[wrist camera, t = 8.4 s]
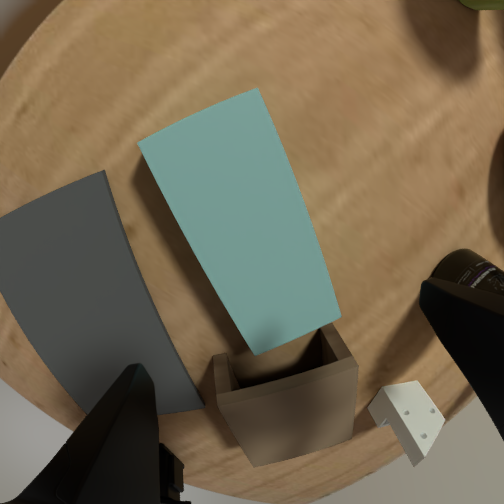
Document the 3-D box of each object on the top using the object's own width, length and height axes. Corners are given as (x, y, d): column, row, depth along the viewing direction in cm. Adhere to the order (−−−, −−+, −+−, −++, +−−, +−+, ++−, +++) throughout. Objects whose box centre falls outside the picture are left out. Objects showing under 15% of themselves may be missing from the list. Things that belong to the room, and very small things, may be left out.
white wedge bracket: (358, 408, 23) (424, 457, 17) (399, 368, 29) (452, 404, 24) (342, 430, 24) (403, 475, 18) (385, 388, 31) (435, 423, 25)
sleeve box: (245, 427, 25) (253, 467, 21) (212, 355, 20) (217, 406, 16) (334, 402, 26) (351, 438, 21) (332, 323, 21) (358, 365, 17)
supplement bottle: (453, 233, 20) (561, 304, 9) (481, 262, 22) (564, 325, 11) (411, 301, 22) (500, 395, 11) (445, 319, 24) (517, 395, 13)
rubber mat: (92, 416, 22) (92, 419, 22) (-22, 230, 14) (-26, 232, 13) (205, 403, 23) (205, 407, 22) (104, 169, 14) (101, 170, 14)
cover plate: (248, 327, 20) (255, 356, 18) (149, 140, 15) (137, 142, 12) (325, 293, 20) (341, 316, 18) (248, 95, 14) (257, 87, 12)
